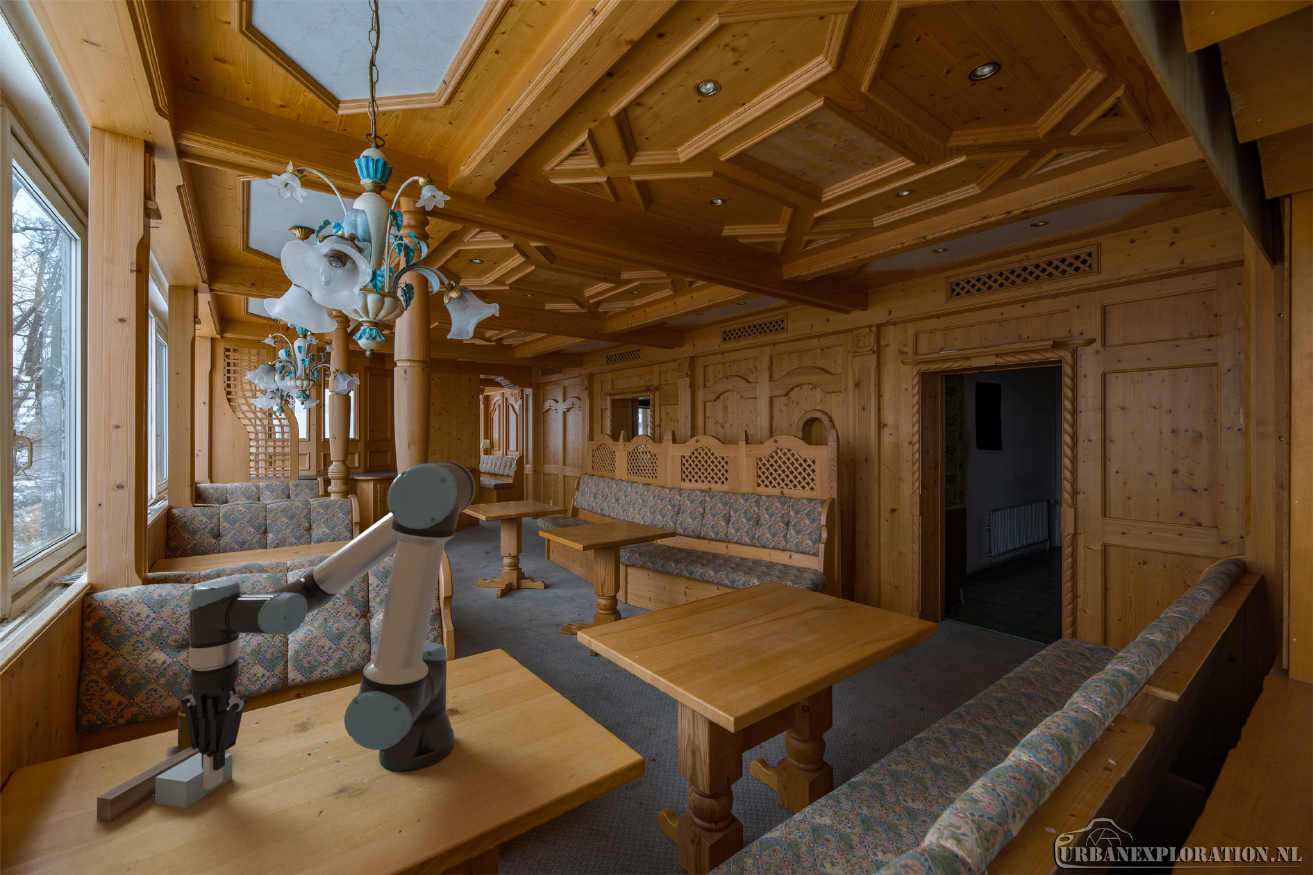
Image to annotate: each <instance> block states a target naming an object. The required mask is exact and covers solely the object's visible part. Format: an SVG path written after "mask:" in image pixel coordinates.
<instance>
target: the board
mask: <svg viewBox="0 0 1313 875" xmlns="http://www.w3.org/2000/svg"><path fill="white" fill-rule="evenodd" d="M198 753H200V752H199V749H197V748H196V749H192V747H191V746H190V747H189V748H187V749H185V750H183V751H181V752H179V753H177V754H176V755H174V756H172V757H170V758H168V759H166V760H165V761H163V760H162V761H161V762H159V763H157V764H156V765H154V766H152V767H150V768H148V769H147V770H144V771H142V772H141V773H139V774H137V775H135V776H133V777H132V778H130V779H128V780H126V781H124V782H122V783H120V784H119V785H117V786H115V787H113V788H111V789H110V790H108V791H105V792H104V793H102V794H100V795H99V796H97V797H96V820H98V821H104V822H110V823H111V822H112V821H114V820H116V819H117V818H119V817H120V816H123V814H126V813H127V812H129V811H131V810H132V809H134V808H136V807H137V806H139V805H141V804H143V803H144V802H146V801H147V799H148V800H149V799H151V798H153V797H154V796H155V781H156V777H157V776H159V775H161V774H163V773H164V772H166V771H168V770H170V769H171V768H173V767H175V766H177V765H178V764H180V763H182V762H184V761H185V760H187V759H189V758H191V757H193V756H194V755H196V754H198ZM153 795H154V796H153Z"/></svg>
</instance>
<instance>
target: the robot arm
mask: <svg viewBox="0 0 1313 875" xmlns="http://www.w3.org/2000/svg"><path fill="white" fill-rule="evenodd" d="M475 495H476V482H475V479H474V476H473V474H472V472H471V471H469V469H467V468H466V467H465V466H463V465H461V464H460V463H457V462H454V461H441V462H434V463H433V462H431V463H429V462H424V463H419V464H416V465H413V466H411V467H408V468H406V469H405V470H403V471H401V473H399V474H398V475H397V476H396V477H395V478H394V479H393V481H392V483H391V484H390V487H389V489H388V493H387V507H388V510H389V513H388V514H386V515H385V516H383V517H382V518H380V519H379V520H378V521H376V522H375V523H374V524H373V525H371V526H370V527H368V528H367V529H366V530H364V531H363V532H362V533H360V534H358V536H356V537H355V538H353V539H351V541H349V542H348V543H346V544H345V545H344V546H342V547H341V548H339V550H337V551H336V552H334V553H333V554H332V555H331V554H330V556H329V557H327V558H326V559H324V560H323V561H322V562H320V563H319V564H317V566H315V567H314V568H313V569H311V570H310V571H308V572H306V574H304V575H303V576H302V577H300V578H298V579H296V580H294V581H292V582H290V583H286V584H285V585H282V586H280V587H277V588H275V589H273V590H270V591H268V592H253V593H252V592H250V593H249V592H242V589H241V584H240V582H238V581H237V580H232V579H231V580H230V579H229V580H226V579H225V580H216V581H215V580H214V581H210V582H206V583H202V584H198V585H197V586H195V587H194V588H192V591H191V593H190V601H189V602H190V603H189V609H188V612H189V613H188V614H189V615H188V616H189V639H190V640H189V645H188V646H189V647H188V650H189V651H188V666H189V668H190V669H189V670H188V689H190V690H191V693H192V695H190V696H188V697H186V698H184V699H182V698H181V699H182V700H180V702H181V703H180V706H181V705H182V707H183V709H184V711H185V715H186V720H187V726H188V731H189V737H190V742H191V747H192V749H196V748H197V749H199V752H200V753H201V754H202V759H201V766H202V769H203V789H206V790H210V789H212V788H213V787H215V786H216V785H218V784H219V783H221V782H222V781H223V767H224V766H225V753H226V751H228V750H229V749H231V748H233V747H235V746H236V743H237V739H238V734H239V729H240V725H241V722H242V716H243V712H244V709H245V708H246V706H247V704H248V702H249V701H248V699H247V698H242V699H240V698H239V697H238V696H237V690H236V687H235V685H236V684H235V683H236V681H238V678H239V676H240V660H239V659H238V658H239V657H240V656H239V655H240V634H263V635H264V634H268V635H279V634H287V633H293V632H294V631H297V630H298V629H299V628H300V627H301V624H303V623H304V621H305V619H306V618H307V617H306V616H307V615H308V614H309V613H312V612H313V611H316V610H319V609H321V608H323V607H325V605H327V604H328V603H330V602H331V601H333V599H334V598H335V597H336V595H338V594H339V593H341V592H342V591H343V590H345V589H346V588H347V587H349V586H350V585H351V584H353V583H354V582H355V581H357V580H359V578H361V577H362V576H364V575H365V574H366V573H368V572H369V571H371V570H372V569H373V568H375V567H376V566H377V565H379V564H380V563H381V562H383V561H385V560H387V558H388V557H390V556H391V555H393V553H394V558H393V562H392V568H391V573H390V578H389V583H388V588H387V593H386V598H385V604H384V608H383V613H382V618H381V623H380V629H379V634H378V640H377V644H376V647H375V654H374V658H373V659H371V660H369V662H367V663H366V664H365V666H364V668H363V671H362V674H361V675H362V676H361V680H360V685H359V690H358V694H357V695H355V697H353V698H352V699H351V701H350V702H349V704H348V706H347V708H346V710H345V713H344V716H343V718H344V727H345V731H346V733H347V734H348V736H349V737H351V739H352V740H353V741H354V742H355V743H356V744H357V745H358V746H360V747H361V748H365V749H367V750H373V751H378V761H379V764H380V765H381V766H382V767H383V768H384V769H387V770H390V771H395V772H397V771H398V772H406V771H414V770H420V769H423V768H427V767H429V766H431V765H434V764H436V763H438V762H440V761H441V760H443V759H445V758H446V757H447V756H448V755H450V753H451V752H452V750H453V749H454V747H455V746H454V745H455V733H454V729H453V727H452V724H451V721H450V719H449V716H448V712H447V664H448V663H447V661H448V658H447V649H446V647H445V646H444V645H443V644H441V643H439V642H438V643H437V642H431V641H430V642H429V641H427V637H428V636H427V635H428V631H429V625H430V621H431V615H432V610H433V605H434V600H435V595H436V590H437V585H438V581H439V580H438V578H439V575H440V569H441V565H442V560H443V554H444V548H445V544H446V543H447V542H448V541H450V540H451V539H452V538H454V537H455V535H456V529H457V524H458V519H459V515H460V514H461V513H463V512H464V511H466V509H467V508H468V507H469V506H470V505H471V503H472V502H473V500H474V498H475ZM198 739H199V740H198Z"/></svg>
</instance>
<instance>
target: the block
mask: <svg viewBox="0 0 1313 875" xmlns="http://www.w3.org/2000/svg"><path fill="white" fill-rule="evenodd" d="M201 759H202V754H201V753H198V754H196V755H194V756H193V757H191V758H189V759H187V760H185V761H184V762H182V763H180V764H178V765H177V766H175V767H173V768H171V769H170V770H168V771H166V772H164V773H163V774H161V775H159V776H157V777H156V781H155V795H154V798H155V799H154V800H155V802H154V803H155V804H157V805H164V806H171V807H177V808H182V809H183V808H184V809H187V808H189V807H190V806H191V805H193V804H195V803H196V802H198V801H200V800H201V799H203V798H205V796H207V795H209V794H210V793H212V792H213V791H215V790H216V789H217V788H219V787H221V786H223V785H224V784H225V783H227V782H229V781H231V779H233V753H227V752H225V766H224V767H223V781H222V782H221V783H219V784H218V785H216V786H215V787H213V788H212V789H210V790H206V789H203V769H202V766H201Z"/></svg>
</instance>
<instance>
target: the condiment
mask: <svg viewBox="0 0 1313 875" xmlns="http://www.w3.org/2000/svg"><path fill="white" fill-rule="evenodd" d="M190 695H192V692H191V693H188V694H186V695H185V696H183V697H182V698H181V700H182V699H184V698H186V697H188V696H190ZM181 700H180V705H179V706H180V707H179V709H180V710H179V711H178V713H177V745H172V746H169V747H168V748H167V751H166V753H165V756H167V757H165V756H164V758H165V759H164V758H163V760H162V762H163V761H165V760H166V759H168V758H170V757H172V756H174V755H176V754H177V753H179V752H181V751H183V750H185V749H187V748H189V747H190V746H191V742H190V737H189V731H188V726H187V720H186V715H185V711H184V709H183V707H182V705H181ZM198 740H199V739H198Z"/></svg>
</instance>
